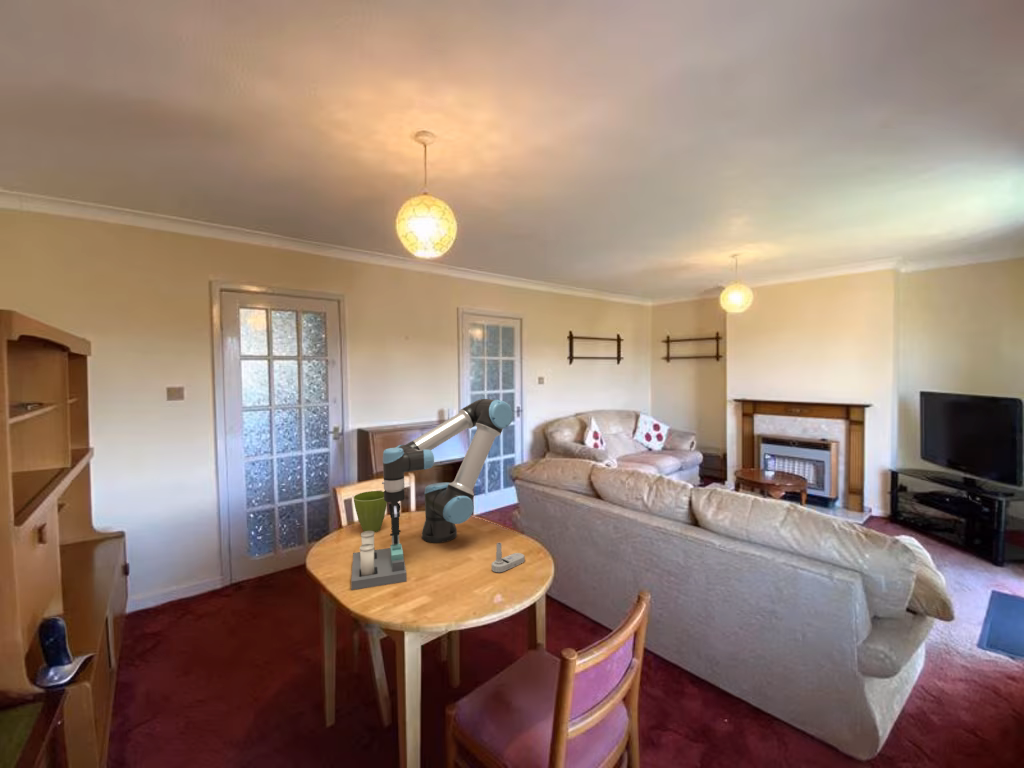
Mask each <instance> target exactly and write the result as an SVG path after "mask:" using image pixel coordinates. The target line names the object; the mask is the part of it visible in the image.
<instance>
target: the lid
mask: <svg viewBox="0 0 1024 768" xmlns="http://www.w3.org/2000/svg"><path fill="white" fill-rule="evenodd" d="M389 548H391V562H392V561H395V560H402V559H403V557H404V550H403V546H402V543H399V544H394V545H392V544H390V547H389Z"/></svg>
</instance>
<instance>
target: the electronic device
mask: <svg viewBox="0 0 1024 768" xmlns="http://www.w3.org/2000/svg"><path fill="white" fill-rule="evenodd" d="M525 560H526V559H525V554H523V553H521V552H515V553H511V554H510V555H506V556H504V557H503V553H502V542H497V543H496V552H495V560H494V561H492V562H491V570H492V572H494V573H504V572H506V571H508V570H510V569H512V568H515V567H517V566H519V565H521V563H522V564H524V563H525V562H526V561H525ZM523 562H524V563H523Z"/></svg>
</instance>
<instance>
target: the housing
mask: <svg viewBox="0 0 1024 768" xmlns="http://www.w3.org/2000/svg"><path fill="white" fill-rule="evenodd" d="M374 550H375V559H374V573H375V575H368V576H362V577H361V560H360V551H358V552H353V554H352V566H351V581H350V583H351V584H350V585H351V586H350V587H351V591H355V590H354V589H356V590H362V589H369V588H374V587H381V586H387V585H393V584H398V583H400V584H401V583H405V582H407V578H408V577H407V576H408V575H407V568H406V564H405V558H404V556H403V559H402V560H395V561H392V562H391V548H390V547H387V548H381V549H374Z"/></svg>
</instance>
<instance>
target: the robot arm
mask: <svg viewBox="0 0 1024 768" xmlns="http://www.w3.org/2000/svg"><path fill="white" fill-rule="evenodd" d="M513 413H514V412H513V411H512V407H511V405H510V404H509V403H507V402H506V401H504V400H500V399H489V398H480V399H478V400H476V401H473V402H472V403H469V404H467V405H466V406H465V407H463V408H461V409H460V410H459V411H458V413H457V414H454V416H452V417H450V418H448V419H447V420H445V421H444V422H442V423H441V424H439V425H437V426H435V427H433V428H432V429H430V430H428V431H427V432H425V433H424V434H421V435H420V436H418V437H417V438H415V439H413V440H412V441H410V442H408V443H406V444H399V445H397V446H396V447H389V448H385V449H384V450H383V453H382V469H383V471H382V472H383V481H382V482H381V485H383V492H384V500H385V501H386V502H387V503H389V504H388V507H389V517H390V525H391V526H390V527H391V528H390V529H391V533H390V534H389V536H390V537H391V545H394V544H400V533H401V531H402V530H400V517H401V516H400V515H401V513H400V512H401V511H400V510H401V505H400V504H401V503H399V502H402V501H404V500H405V499H406V498H405V497H406V496H405V495H406V494H405V473H409V472H415V471H421V470H422V471H423V470H428V469H431V468H433V466H434V464H435V454H434V453H433V451H432V450H434V449H435V448H437V447H439V446H440V445H442V444H443V443H445V442H447V441H448V440H450V439H452V438H453V437H455V436H456V435H457V436H458V434H461V432H463V431H465V430H466V429H472V428H474V427H476V431H475V433H474V435H473V437H472V440H471V442H470V444H469V446H468V449H467V451H466V454H465V455H464V458H463V460H462V462H461V464H460V467H459V469H458V470H457V473H456V476H455V478H454V480H453V481H452V482H448V481H447V482H443V481H442V482H436V483H431V484H428V485H426V486H425V487H424V493H423V494H424V509H425V511H424V513H425V520H424V524H423V527H422V531H421V540H422V541H425V542H428V543H433V544H435V543H436V544H437V543H446V542H449V541H452V540H454V539H455V538H456V537H457V536H458V531H457V530H458V529H457V527H456V525H459V524H460V525H461V524H463V523H465V522H467V521H468V520H469V518H471V516H472V514H473V512H474V509H475V508H474V502H473V499H474V496H475V494H474V487H475V486H476V484H477V480H478V478H479V477H480V474H481V471H482V470H483V467H484V464H485V462H486V460H487V458H488V455H489V454H490V453H489V452H490V450H491V449H492V446H493V444H494V441H495V439H496V437H499V436H501V434H502V432H503V429H506V428H507V427H509V426H510V425H511V423H512V421H513V416H514V414H513Z"/></svg>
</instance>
